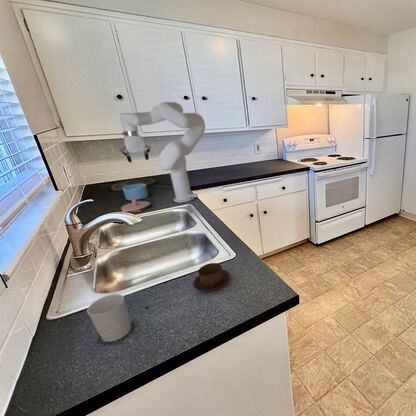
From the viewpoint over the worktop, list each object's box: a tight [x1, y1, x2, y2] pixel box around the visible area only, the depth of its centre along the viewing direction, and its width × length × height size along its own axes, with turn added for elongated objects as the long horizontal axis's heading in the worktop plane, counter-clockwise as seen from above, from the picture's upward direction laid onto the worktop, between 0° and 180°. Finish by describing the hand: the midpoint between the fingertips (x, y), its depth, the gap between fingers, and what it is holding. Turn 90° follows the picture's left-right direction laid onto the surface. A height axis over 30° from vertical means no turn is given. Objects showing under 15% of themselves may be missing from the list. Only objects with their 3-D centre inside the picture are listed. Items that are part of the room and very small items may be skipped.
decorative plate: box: [110, 178, 157, 192], centre depth 213 cm, size 30×2×30 cm
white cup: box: [86, 293, 132, 343], centre depth 73 cm, size 8×8×10 cm
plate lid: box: [120, 198, 151, 211], centre depth 164 cm, size 15×15×6 cm
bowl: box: [122, 184, 149, 201], centre depth 185 cm, size 14×14×8 cm
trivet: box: [121, 203, 151, 213], centre depth 165 cm, size 11×11×1 cm
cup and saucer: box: [192, 262, 231, 292], centre depth 94 cm, size 12×12×6 cm
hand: (139, 160), depth 174 cm, fingers open, 9 cm apart
